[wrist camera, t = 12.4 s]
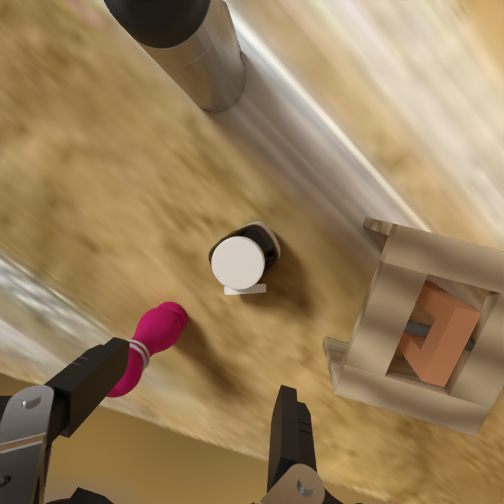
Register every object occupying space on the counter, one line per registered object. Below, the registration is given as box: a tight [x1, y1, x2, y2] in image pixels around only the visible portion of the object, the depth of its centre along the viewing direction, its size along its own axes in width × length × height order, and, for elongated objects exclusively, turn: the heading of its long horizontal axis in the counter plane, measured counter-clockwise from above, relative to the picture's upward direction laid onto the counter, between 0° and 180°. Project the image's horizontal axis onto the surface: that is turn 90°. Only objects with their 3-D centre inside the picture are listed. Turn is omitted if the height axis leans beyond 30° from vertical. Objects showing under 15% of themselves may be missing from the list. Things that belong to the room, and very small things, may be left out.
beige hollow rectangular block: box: [323, 218, 504, 437], centre depth 36 cm, size 23×18×12 cm
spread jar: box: [209, 221, 280, 295], centre depth 38 cm, size 12×11×12 cm
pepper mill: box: [106, 302, 187, 398], centre depth 39 cm, size 7×7×20 cm
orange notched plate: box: [397, 280, 482, 387], centre depth 33 cm, size 10×3×10 cm, turn 167°
